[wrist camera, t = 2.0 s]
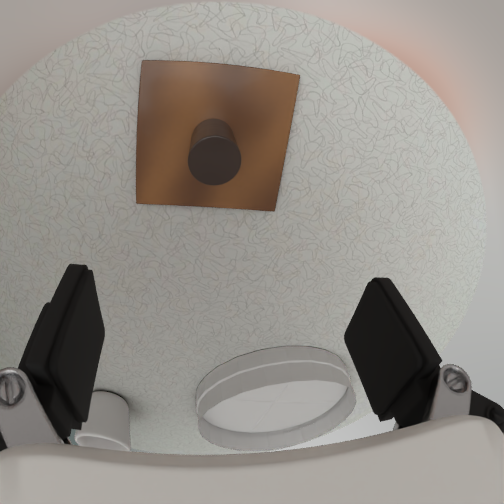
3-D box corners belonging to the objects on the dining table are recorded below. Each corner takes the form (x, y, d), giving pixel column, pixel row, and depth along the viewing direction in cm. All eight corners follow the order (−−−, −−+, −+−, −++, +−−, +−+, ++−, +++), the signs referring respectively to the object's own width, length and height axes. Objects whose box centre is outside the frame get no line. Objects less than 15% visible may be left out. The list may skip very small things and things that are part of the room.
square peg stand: (138, 199, 24) (121, 241, 19) (144, 60, 18) (121, 60, 13) (272, 207, 26) (290, 249, 21) (297, 74, 20) (327, 80, 15)
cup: (111, 421, 44) (107, 463, 37) (69, 402, 40) (61, 445, 33) (143, 400, 40) (141, 449, 34) (95, 378, 37) (86, 429, 30)
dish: (375, 350, 40) (388, 378, 36) (306, 425, 51) (312, 448, 47) (217, 335, 34) (220, 373, 30) (183, 421, 45) (183, 448, 41)
